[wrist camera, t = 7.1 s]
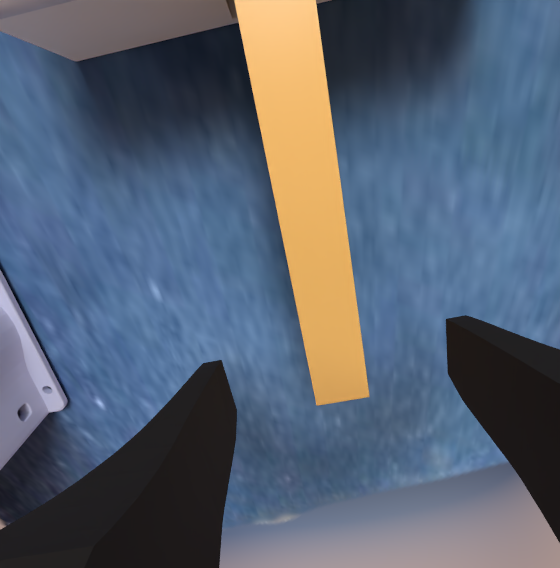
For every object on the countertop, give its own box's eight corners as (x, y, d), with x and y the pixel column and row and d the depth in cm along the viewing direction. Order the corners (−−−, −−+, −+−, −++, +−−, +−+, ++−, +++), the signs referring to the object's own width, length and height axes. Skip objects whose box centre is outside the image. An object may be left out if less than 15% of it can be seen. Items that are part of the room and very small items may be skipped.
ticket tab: (345, 331, 18) (369, 396, 13) (306, 338, 18) (316, 405, 14) (294, -2, 13) (304, -82, 8) (241, 11, 13) (221, -61, 9)
